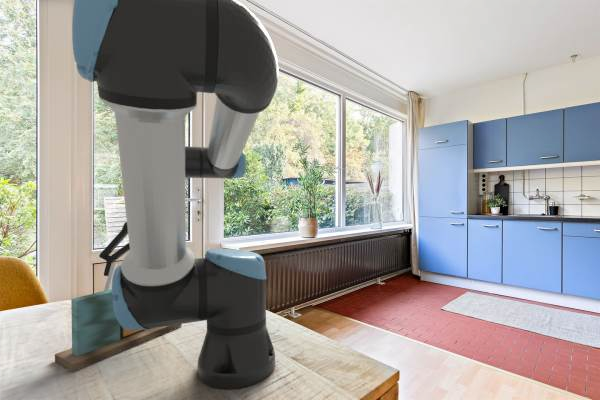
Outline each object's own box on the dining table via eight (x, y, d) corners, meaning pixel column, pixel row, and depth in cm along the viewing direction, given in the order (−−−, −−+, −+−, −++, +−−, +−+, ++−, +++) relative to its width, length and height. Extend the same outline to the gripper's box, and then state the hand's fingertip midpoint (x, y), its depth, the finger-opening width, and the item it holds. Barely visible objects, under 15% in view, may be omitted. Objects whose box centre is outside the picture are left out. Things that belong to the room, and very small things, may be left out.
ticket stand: (162, 320, 86) (162, 274, 86) (181, 326, 81) (181, 277, 81) (54, 361, 64) (54, 299, 64) (72, 372, 60) (71, 306, 60)
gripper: (208, 219, 87) (193, 297, 81) (108, 202, 79) (84, 287, 74) (210, 214, 80) (193, 300, 74) (101, 196, 72) (73, 289, 67)
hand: (139, 294), depth 74 cm, fingers open, 13 cm apart
